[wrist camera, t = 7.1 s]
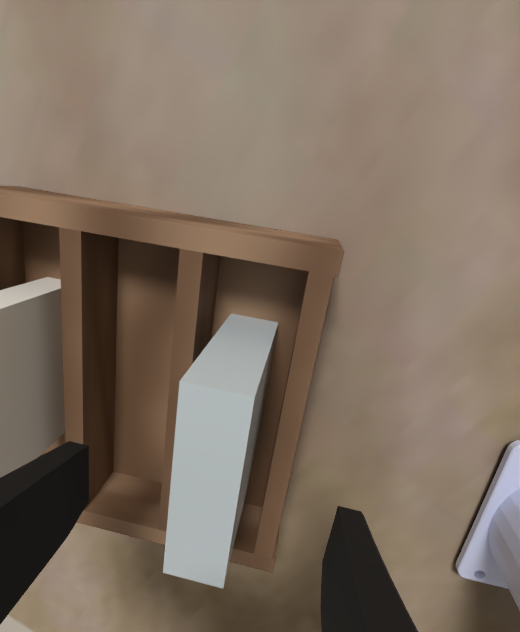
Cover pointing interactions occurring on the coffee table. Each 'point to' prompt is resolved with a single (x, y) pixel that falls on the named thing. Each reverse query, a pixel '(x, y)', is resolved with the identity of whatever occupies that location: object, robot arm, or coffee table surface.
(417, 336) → the coffee table surface
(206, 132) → the coffee table surface
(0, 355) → the tile
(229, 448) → the pale blue rectangular prism
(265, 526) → the rack
